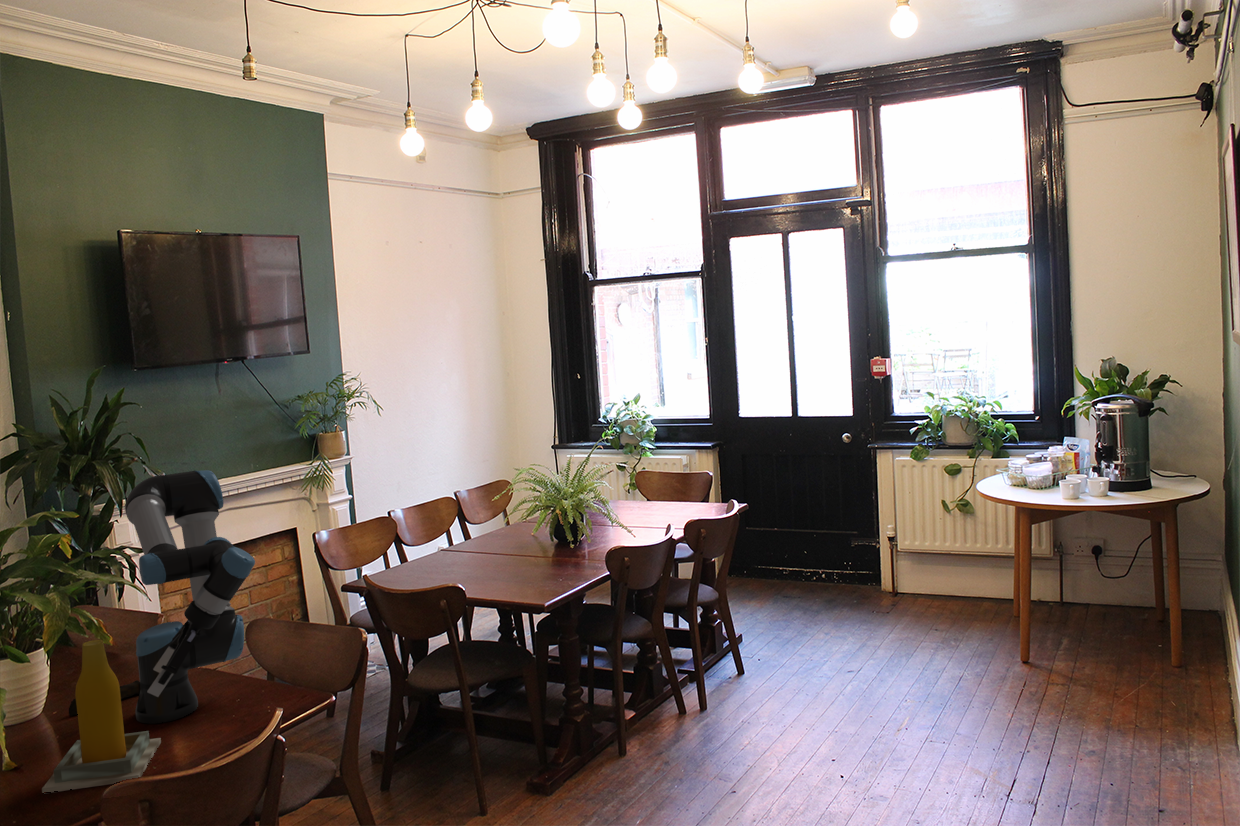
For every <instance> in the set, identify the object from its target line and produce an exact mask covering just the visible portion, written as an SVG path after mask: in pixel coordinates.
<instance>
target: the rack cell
mask: <svg viewBox="0 0 1240 826" xmlns="http://www.w3.org/2000/svg"><path fill="white" fill-rule="evenodd" d="M149 732H150V731H149V730H146V731H138V732H137V731H136V732H130V733H129V732H128V733H124V735H125V744H126V757H125V758H121V759H114V760H106V761H99V762H92V763H84V764H83V763H82V753H81V742H80V739H77V740H76V741H75V742H74V744H73V745H72V746H71V747H70V749H69V750H68V751H67V752H66V754H65V755H64V756H63V758H62V759H61V760H60V761H59V763H58V764H57V766H55V768H54V769H53V773H52V775H51V776H50V778H48V780H47V782H46V783H45V784H44V785H43V786H42V787H41V793H44V792H51V793H55V792H54V791H58V792H64V791H70V789H72V790H79V789H85V788H93V787H99V786H107V785H113V784H114V783H115V784H117V783H116V782H119V781H122V780H126V779H132V778H138V777H141V778H142V776H143V774H144V773H143V772H145V771H146V769H147V768H148V766H149V764H150V762H151V761H150V760H152V759H153V757H154V756H155V754H156V752H157V750H158V749H157V748H159V747H160V745H161V743H162V740H161V739H162V738H161V737H157V738H150V733H149ZM154 753H155V754H154ZM151 758H152V759H151ZM148 763H149V764H148ZM147 765H148V766H147ZM44 794H45V793H44Z"/></svg>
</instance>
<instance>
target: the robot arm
mask: <svg viewBox="0 0 1240 826" xmlns="http://www.w3.org/2000/svg"><path fill="white" fill-rule="evenodd" d="M223 507H224V497H223V492H222V487H221V484H220V481H219V480H218V478H217V476H216V474H215V473H214V472H213V471H211V470H209V469H206V470H202V469H201V470H191V471H185V472H184V471H183V472H176V473H169V474H158V475H153V476H150V477H148V478H146V479H144V480H142V481H141V482H140V483H138V484H136V486H135V487H133V489H132V490H131V491H130V493H129V494H128V496H127V498H126V501H125V505H124V508H125V514H126V518H127V520H128V521H129V522H130V523H131V524H132V525H133V526H134V530H135V532H136V533H137V534H136V535H137V537H138V541H139V543H140V546H141V549H142V552H143V555H141V556H139V559H138V568H139V574H140V579H141V580H140V581H141V582H142V584H143V585H145V586H152V585H163V584H166V583H172V582H176V581H177V582H178V581H182V580H187V579H189V583H190V585H189V586H190V591H191V597H192V601H191V602H190V603H189V604H188V606H187V607H186V609H185V610H184V617H185V619H187V620H186V621H185V623H182V622H181V621H176V620H174V621H167V622H163V623H160V624H156V625H154V626H151V627H148V628H147V629H145V630H144V631H142V632H141V633H140V634H138V636H137V638H136V641H135V645H136V652H135V655H136V656H135V657H137V666H138V675H139V676H138V678H139V681H140V688H141V689H140V694H138V697H137V702H136V706H135V718H136V721H137V722H139V723H142V724H150V725H151V724H153V725H154V724H162V722H163V723H169V722H172V721H175V720H176V721H177V720H179V719H182V718H184V716H185V717H186V715H187V716H189V715H190V713H191V714H192V713H194V712H195V711H196V710H197V709H198V708H199V701H198V700H199V699H198V696H197V694H196V691H195V689H194V688H193V686H192V684H191V682H190V679H189V670H193V669H197V668H201V667H206V666H209V665H210V666H211V665H215V664H219V663H220V664H221V663H226V662H227V661H228V662H229V661H231V660H234V659H237V658H240V656H241V654H242V653H243V651H244V645H245V625H244V624H245V623H244V620H243V619H244V618H243V616H242V615H241V614H236V611H235V610H236V609H235V608H234V607H232V606H231V605H232V604H231V601H232V599H233V597H234V596H236V593H237V592H238V591H239V589H240V588H241V586H242V585H243V584H244V582H245V580H247V578H248V577H249V576H250V574H251V572H252V570H253V568H254V567H255V565H256V560H255V558H254V557H253V556H252V555H251V554H250V553H249V552H247V551H245V550H244V549H242V548H241V547H236V546H235V545H234V544H233V543H232V542H231V541H230V540H229V539H227V538H225V537H221V536H218V535H217V529H216V523H215V521H216V519H217V518H218V517H219V515H220V512H219V510H221V509H222V508H223ZM171 516H173V520H174V523H176V524H177V525H178V526H179V527H180V528H181V531H182V537H183V538H182V539H183V544H184V548H178V546H177V544H176V541H175V538H174V537H173V533H172V531H171V529H170V528H171V527H170V526H169V523H168V521H167V518H166V517H171ZM197 707H198V708H197ZM193 711H194V712H193ZM188 714H189V715H188Z"/></svg>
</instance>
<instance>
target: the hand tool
mask: <svg viewBox="0 0 1240 826" xmlns="http://www.w3.org/2000/svg"><path fill="white" fill-rule="evenodd" d="M119 686H120V685H119ZM140 689H141V688H140V680H138V679H136V680H134V681H133V682H130V683H128V684H124V685H121V686H120V696H121V700H123V699H126V698H130V697H133V696H136V695H139V694H140ZM68 715H69V716H70V717H72V716H73V717H74V716H78V715H77V705H76V697H75V698H74V699H72V700H71V702H70V705H69V706H68Z"/></svg>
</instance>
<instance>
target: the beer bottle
mask: <svg viewBox="0 0 1240 826" xmlns="http://www.w3.org/2000/svg"><path fill="white" fill-rule="evenodd" d="M81 646H82V647H81V648H82V649H81V650H82V651H81V652H82V655H81V670H80V674H79V677H78V679H77V682H76V685H75V691H74V692H75V693H74V694H75V698H76V705H77V714H78V715H77V721H78V722H77V723H78V731H79V740H80V742H81V753H82V763H83V764H84V763H92V762H99V761H106V760H114V759H121V758H125V757H126V744H125V735H124V734H125V727H124V718H123V717H124V716H123V708H122V707H123V706H122V699H121V696H120V682H119V680H118V677H117V675H116V674H115V672H114V671H113V670H112V668H111V666H110V665H109V662H108V658H107V653H106V649H105V645H104V641H103V640H102V639H94V640H88V641H86V642H82V645H81Z"/></svg>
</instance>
